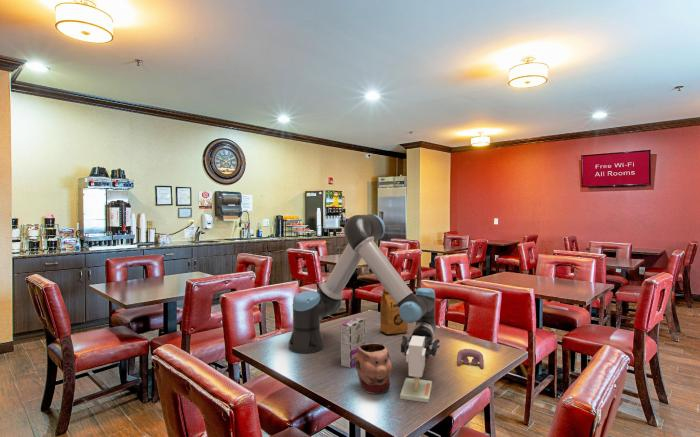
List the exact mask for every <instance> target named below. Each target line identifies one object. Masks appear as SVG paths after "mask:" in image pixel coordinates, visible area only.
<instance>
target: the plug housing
mask: <svg viewBox="0 0 700 437" xmlns="http://www.w3.org/2000/svg"><path fill="white" fill-rule="evenodd" d="M411 336H412V335H411ZM408 344H409V362H408V377H414V376H415V377H419V378H422V377H423V374H424V371H425V366H426V361H425V362H424V364H422V353H423V349H424V348H425V337H422V336H412V338H411V341H410V342H408Z"/></svg>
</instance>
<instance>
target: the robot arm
mask: <svg viewBox="0 0 700 437" xmlns="http://www.w3.org/2000/svg"><path fill="white" fill-rule="evenodd" d="M343 228H344V229H343V232H344V237H345V239H346V241H347V245H346V246H345V249H344V250H343V252H342V253H341V255H340V257H339V258H338V260H337V262H336V264H335V266H334V268H333V269H332V271H331V272H330V275H329V276H328V278H327V280H326V281H324V282H321V283H320V285H319V287H318V288H317V290H316V291H315V290H307V291H301V292H299V293H297V294H295V295H294V297H293V298H292V299H293V300H292V332H291V335H290V338H289V342H288V349H289V350H290V351H291V352H294V353H298V354H312V353H316V352H319V351H321V350H323V349H324V348H325V343H324V338H323V335H322V332H321V329H320V328H321V322H320V321H321V319H323V318H326V317H328V316H331V315H333V314H335V313H336V312H338V311H339V310H340V309H341V307H342V303H343V300H342V299H343V297H344V293H343V291H344V289H345V287H346V285H347V284H348V282H349V281H350V279H351V277H352V276H353V275H354V272H355V271H356V269H357V267H358V265H359V264H360V262H361V261H362V259H363V260H364V263H365V264H366V265H367V266H368V268H369V269H370V270H371V271H372V273H373V274H374V276H375V277H376V279H377V280H378V281H379V282H380V284H381V285H382V287H383V289H386V290H387V292H388V293H389V294H390V296H391V297H392V298H393V300H394V301H395V303H396V304H397V305H398V307H399V308H400V309H399V315H400V317H401V319H402V320H403V321H405V322H407V324H412V323H415V326H414V329H413V330H412V333H411V335H410V336H409V337H407V336H405V335H403V336H401V337H402V339H401V340H402V341H401V344H400V353H404V354H403V355H404V357H405V358H406V359H405V362H406V363H409V343H410V341H411V338H412V336H422V337H425V348H424V349H423V353H422V364H424V362H425V363H426V359H429V358H430V356H432V357H435V356H436V355H437V351H438V349H439V348H440V344H441V342H440V341H441V340H440V339H433V338H434V335H435V332H436V326H437V325H436V292H435V290H434V289H433V288H430V287H419V288H418V287H417V289H416V291H415V294H414V292H413V291H412V289H411V288H410V287H409V286H408V285H407V283H406V282H405V280H404V278H402V276H401V275H400V274H399V272H398V271H397V269H395V268H394V266H393V265H392V264H391V262H390V261H389V259H388V258H387V257H386V255H385V254H384V253H383V251H382V250H381V249H380V248H379V246H378V245H377V244H376V242H377V241H379V240H381V239H382V238H383V237H384V236H385V233H386V224H385V222H384V220H383V219H382V218H381V217H380V216H378V215H376V214H372V213H369V214H355V215H352V216H350V217H349V218H348V219H347V220H346V222H345V224H344V226H343ZM430 347H431V348H430Z"/></svg>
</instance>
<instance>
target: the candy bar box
mask: <svg viewBox="0 0 700 437" xmlns="http://www.w3.org/2000/svg"><path fill="white" fill-rule="evenodd" d="M365 320H366V319H365V318H361V317H355V316H354V317H353V318H351V319H349V320H347V321H345V322H342V323H341V324H339V325H340V366H342V367H345V368H349V369H352V368H355V356H356V354H357V353H358V349H359V346H361V345H363V344H366V332H365V331H366V330H365V328H366V327H365V326H366V325H365V324H366V321H365Z"/></svg>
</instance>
